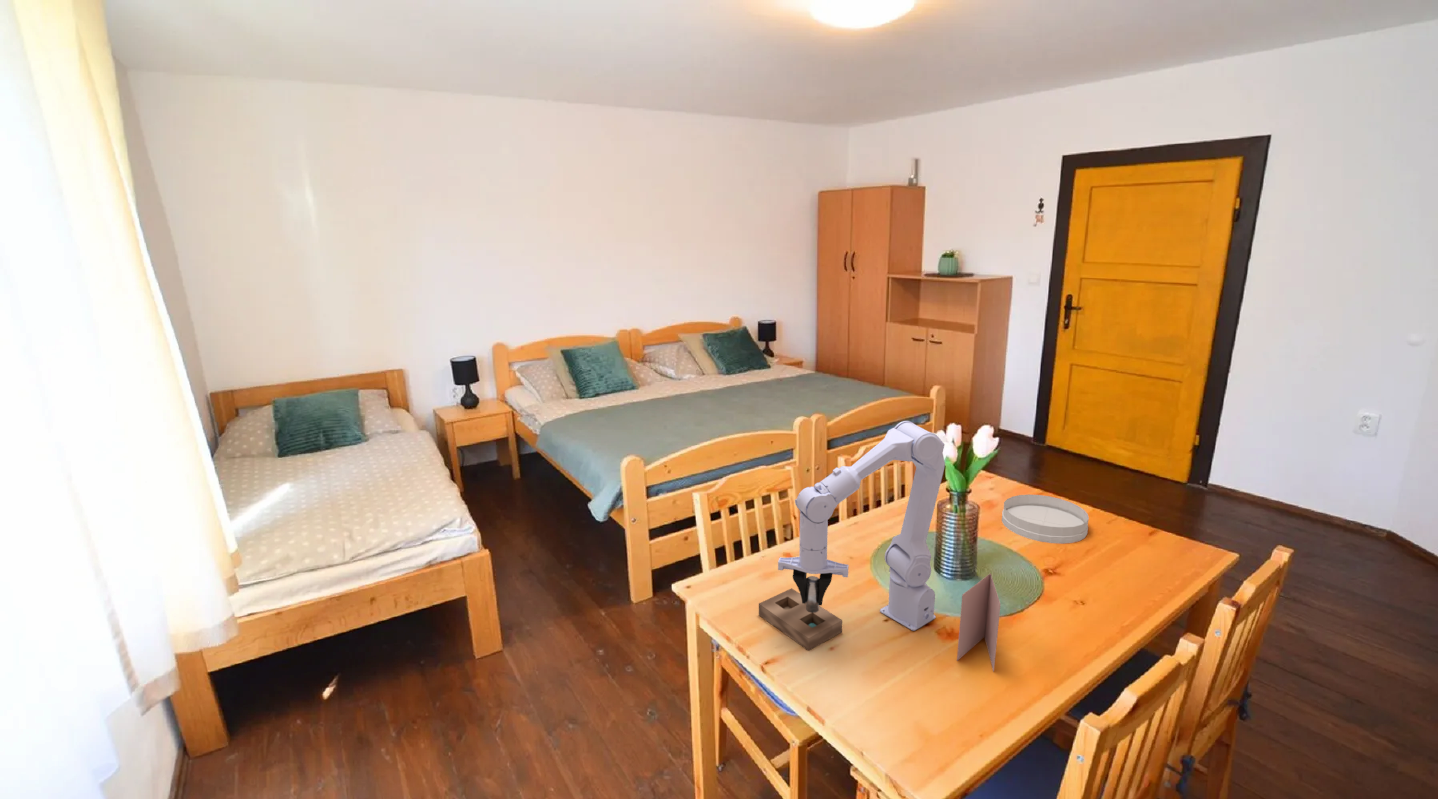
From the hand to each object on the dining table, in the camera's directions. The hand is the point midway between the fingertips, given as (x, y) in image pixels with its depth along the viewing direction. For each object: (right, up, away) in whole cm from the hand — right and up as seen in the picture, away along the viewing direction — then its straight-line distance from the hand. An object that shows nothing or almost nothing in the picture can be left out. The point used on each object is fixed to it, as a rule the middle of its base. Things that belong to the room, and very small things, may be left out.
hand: (812, 601), depth 137 cm
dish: (+73, +7, +47) cm, 87 cm away
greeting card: (+34, -9, -7) cm, 36 cm away
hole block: (-2, -6, +5) cm, 8 cm away
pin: (0, -2, 0) cm, 2 cm away
